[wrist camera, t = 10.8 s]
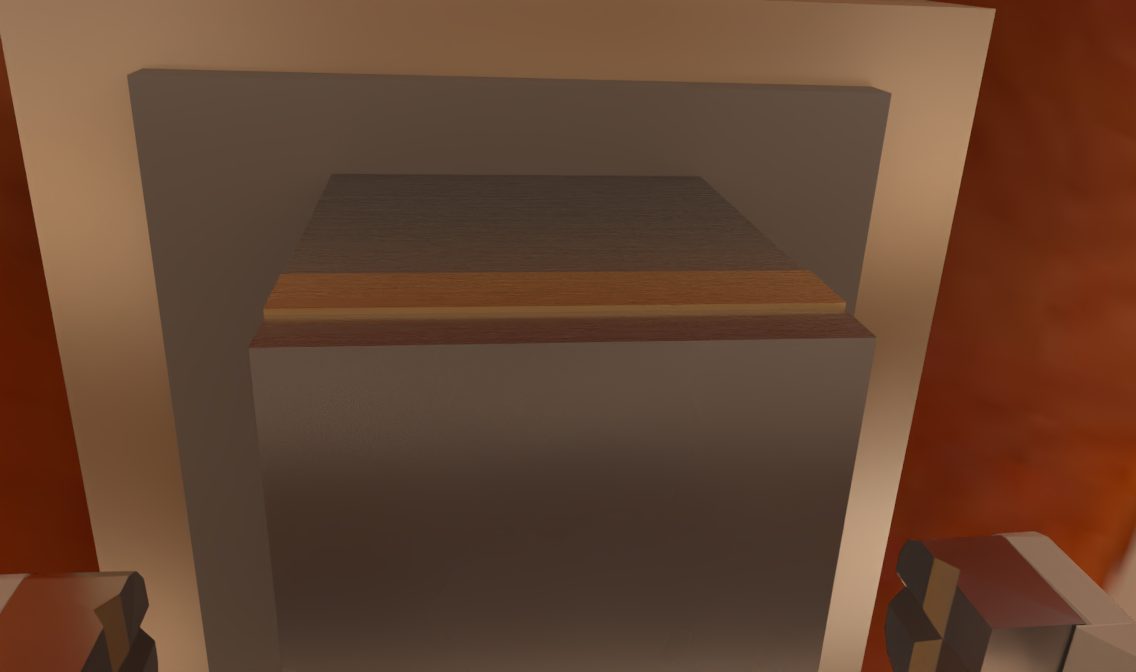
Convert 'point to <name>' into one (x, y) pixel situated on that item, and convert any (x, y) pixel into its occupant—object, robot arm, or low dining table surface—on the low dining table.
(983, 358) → the low dining table surface
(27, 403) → the low dining table surface
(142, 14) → the stand
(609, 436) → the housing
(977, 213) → the low dining table surface
